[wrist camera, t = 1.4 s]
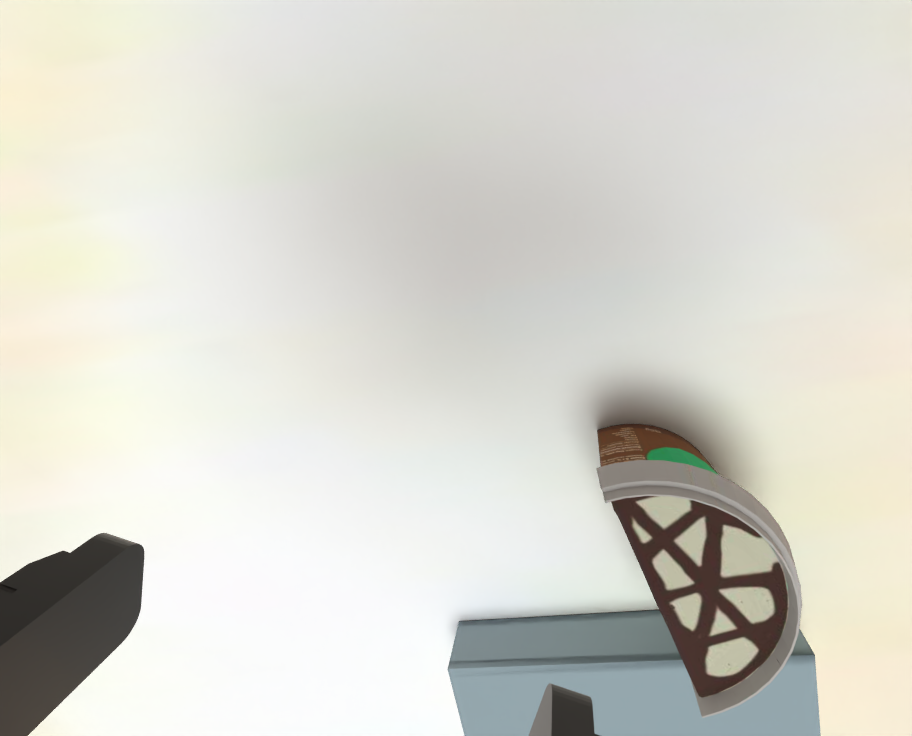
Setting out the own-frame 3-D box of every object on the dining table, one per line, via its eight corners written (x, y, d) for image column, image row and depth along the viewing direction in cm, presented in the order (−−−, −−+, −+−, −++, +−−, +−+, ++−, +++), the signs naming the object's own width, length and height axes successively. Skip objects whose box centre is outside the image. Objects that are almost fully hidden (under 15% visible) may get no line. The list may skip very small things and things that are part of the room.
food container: (769, 555, 32) (857, 697, 23) (665, 584, 34) (706, 728, 24) (694, 367, 30) (756, 438, 21) (587, 407, 32) (599, 490, 22)
